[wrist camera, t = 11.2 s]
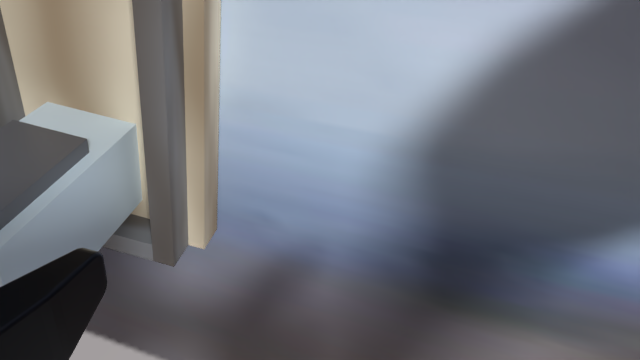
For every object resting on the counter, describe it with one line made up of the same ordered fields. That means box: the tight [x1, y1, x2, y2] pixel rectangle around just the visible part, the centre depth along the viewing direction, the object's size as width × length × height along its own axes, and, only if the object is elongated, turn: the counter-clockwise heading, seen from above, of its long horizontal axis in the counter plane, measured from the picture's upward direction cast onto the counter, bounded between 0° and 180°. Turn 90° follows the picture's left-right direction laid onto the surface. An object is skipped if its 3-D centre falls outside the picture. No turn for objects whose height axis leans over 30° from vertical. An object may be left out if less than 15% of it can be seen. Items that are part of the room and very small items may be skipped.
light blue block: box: [0, 102, 142, 287], centre depth 19 cm, size 5×4×8 cm
